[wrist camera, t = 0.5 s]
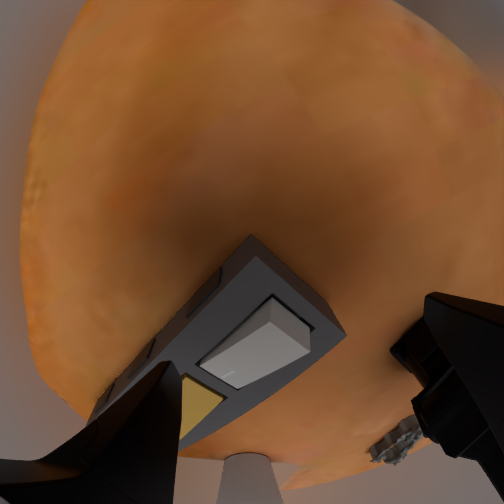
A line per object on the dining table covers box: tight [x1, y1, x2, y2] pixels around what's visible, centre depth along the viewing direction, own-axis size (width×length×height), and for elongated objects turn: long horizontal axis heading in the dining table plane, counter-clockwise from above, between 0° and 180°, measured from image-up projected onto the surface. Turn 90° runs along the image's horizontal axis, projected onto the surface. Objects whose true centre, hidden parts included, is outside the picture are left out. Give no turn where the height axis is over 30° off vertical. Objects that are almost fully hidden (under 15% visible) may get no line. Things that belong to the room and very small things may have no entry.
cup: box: [216, 453, 284, 504], centre depth 25 cm, size 9×9×12 cm
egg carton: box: [370, 415, 423, 465], centre depth 31 cm, size 11×8×4 cm
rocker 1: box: [179, 372, 223, 440], centre depth 20 cm, size 4×7×2 cm, turn 137°
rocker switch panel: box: [86, 234, 347, 451], centre depth 22 cm, size 9×28×5 cm, turn 137°
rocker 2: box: [200, 298, 310, 389], centre depth 18 cm, size 4×7×2 cm, turn 137°
